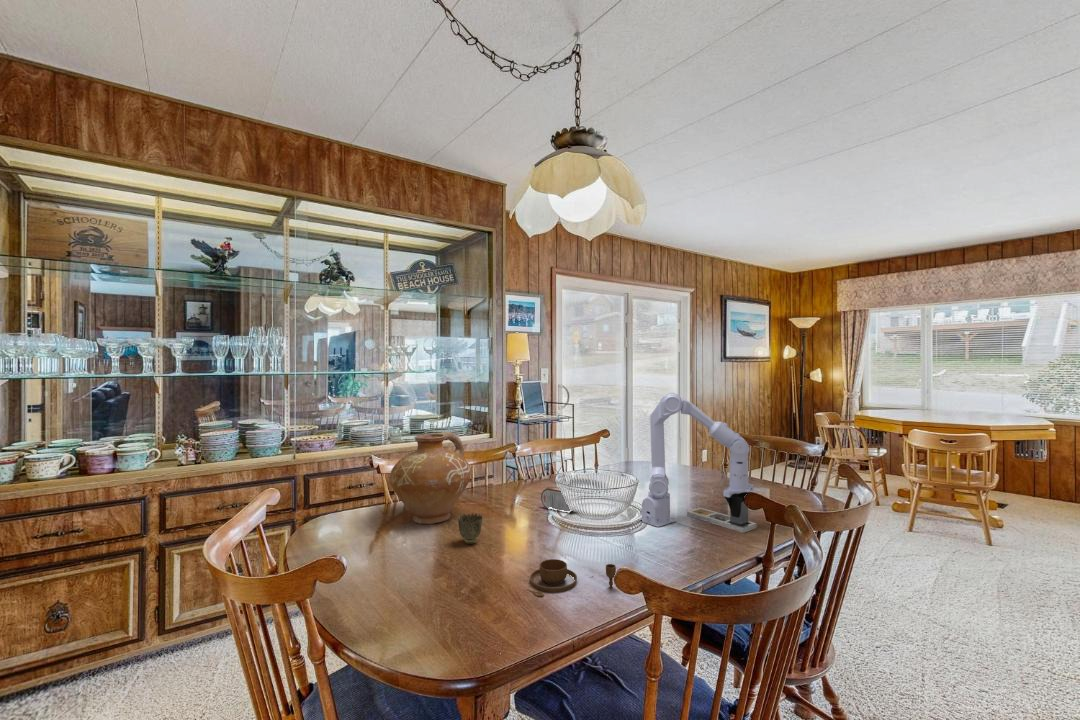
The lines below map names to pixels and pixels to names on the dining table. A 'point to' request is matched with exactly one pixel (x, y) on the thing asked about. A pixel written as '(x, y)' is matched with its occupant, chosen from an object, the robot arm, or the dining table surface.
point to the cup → (470, 527)
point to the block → (740, 516)
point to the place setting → (560, 576)
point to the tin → (554, 499)
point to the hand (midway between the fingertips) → (739, 515)
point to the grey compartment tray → (710, 515)
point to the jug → (431, 477)
